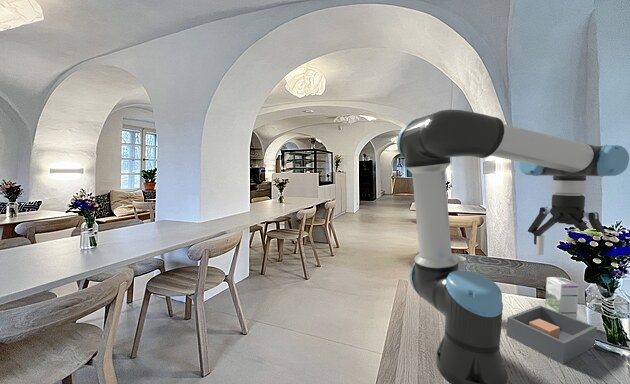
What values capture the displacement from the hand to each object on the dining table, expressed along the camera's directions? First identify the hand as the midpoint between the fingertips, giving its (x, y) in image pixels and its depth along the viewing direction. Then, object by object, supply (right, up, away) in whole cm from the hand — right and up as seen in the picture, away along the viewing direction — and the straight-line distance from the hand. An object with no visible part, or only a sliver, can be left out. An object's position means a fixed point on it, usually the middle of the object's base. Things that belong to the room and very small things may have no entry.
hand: (563, 261), depth 85 cm
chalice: (-28, -20, +15) cm, 37 cm away
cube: (-13, -21, -8) cm, 26 cm away
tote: (-10, -22, -6) cm, 25 cm away
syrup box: (+1, -21, +3) cm, 21 cm away
